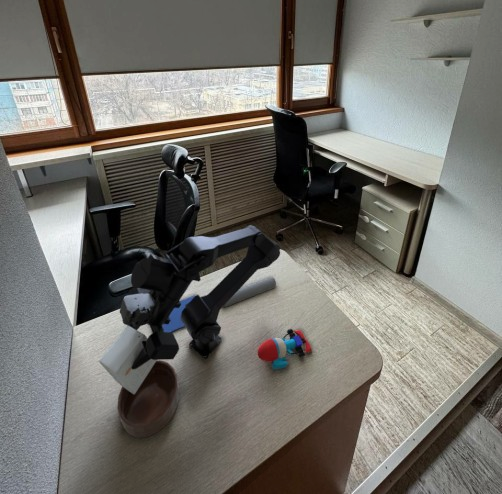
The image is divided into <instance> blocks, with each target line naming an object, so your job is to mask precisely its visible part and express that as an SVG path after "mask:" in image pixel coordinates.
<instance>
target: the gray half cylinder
mask: <svg viewBox="0 0 502 494" xmlns="http://www.w3.org/2000/svg"><path fill="white" fill-rule="evenodd" d="M276 287H277V281H276V279H275V277H274V276H270V277H267V278H264V279H261V280H258V281H256V282H254V283H251V284H249V285H245V286H242V287H241V288H240V289H239V290H238V291H237V292H236V293H235V294H234V295H233V296H232V297H231V298H230V300H229V301H228V302H227V303H226V304H225V305H224V306H223V307H229V306H232V305H235V304H236V303H239V302H241V301H244V300H246V299H249V298H251V297H252V298H253V297H255V296H256V295H260V294H262V293H265V292H267V291H269V290H272V289H274V288H276Z"/></svg>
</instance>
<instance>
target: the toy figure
mask: <svg viewBox="0 0 502 494" xmlns="http://www.w3.org/2000/svg"><path fill="white" fill-rule="evenodd" d="M287 336H289V339H287V340H286V337H287ZM303 344H304V347H305V348H304V349H305V350H304V349H303ZM293 349H295V350H296V351H295V352H293V351H292V350H293ZM312 351H313V349H312V347H311V344H310V342H309V340H308V339H307V338H306V337H305V335H304V333H303V331H301V330H293V328H290V329H288V330H286V333H285V335H284V336H283V337H282V338H280V337H271V338H268V339H266V340H265V341H263V342H262V343H261V344H259V346H258V348H257V357H258V358H259V359H260V360H261V361H263V362H266V363H271V362H272V364H271V367H272V369H273V370H274V371H275V370H280V369H285V368H286V367H287V365H288V363H289V361H287V360H286V359H287V357H285V356H286V354H288V355H289V356H294V355H298V356H299V357H300V358H302V357H304V356H306V354H307V353H310V352H312Z"/></svg>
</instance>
